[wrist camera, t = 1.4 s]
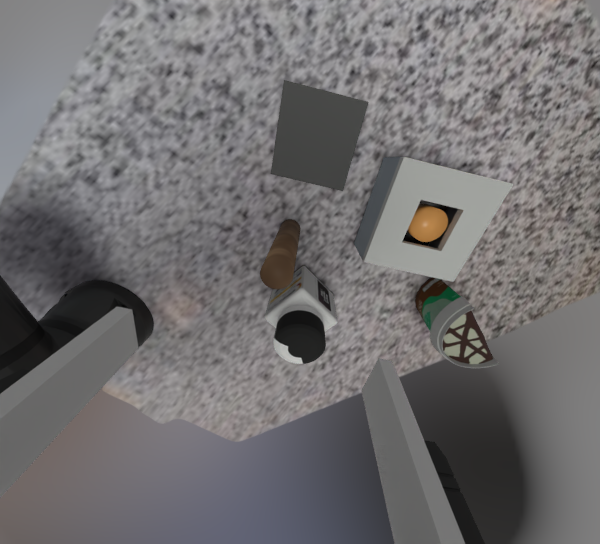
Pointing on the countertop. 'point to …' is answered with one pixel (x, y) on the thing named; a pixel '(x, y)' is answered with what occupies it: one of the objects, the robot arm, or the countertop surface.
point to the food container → (452, 325)
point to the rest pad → (316, 135)
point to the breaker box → (403, 204)
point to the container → (301, 317)
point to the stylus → (281, 257)
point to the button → (428, 223)
